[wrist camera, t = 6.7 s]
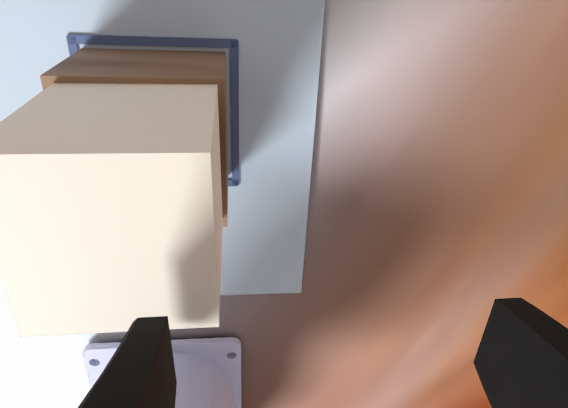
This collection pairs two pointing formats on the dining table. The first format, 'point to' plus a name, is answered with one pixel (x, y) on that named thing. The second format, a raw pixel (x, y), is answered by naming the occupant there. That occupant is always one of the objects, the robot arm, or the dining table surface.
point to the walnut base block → (151, 79)
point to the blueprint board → (240, 103)
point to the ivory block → (111, 207)
